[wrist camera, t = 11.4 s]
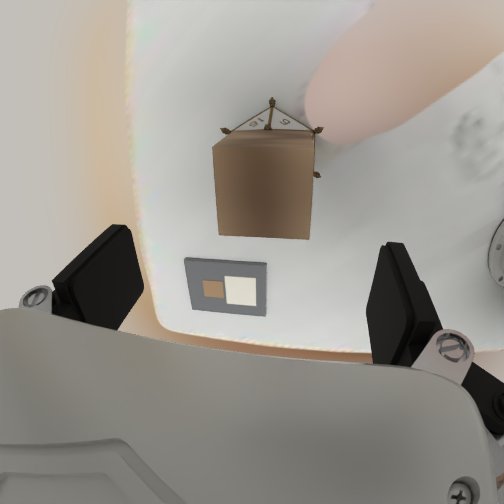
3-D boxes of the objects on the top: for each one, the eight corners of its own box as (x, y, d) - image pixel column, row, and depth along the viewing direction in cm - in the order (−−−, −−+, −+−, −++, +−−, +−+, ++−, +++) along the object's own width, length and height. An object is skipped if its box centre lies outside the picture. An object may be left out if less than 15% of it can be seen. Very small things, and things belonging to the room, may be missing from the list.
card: (266, 263, 36) (265, 266, 36) (265, 313, 40) (265, 317, 40) (185, 257, 38) (183, 260, 37) (193, 306, 42) (192, 309, 41)
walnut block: (310, 131, 20) (314, 148, 15) (307, 202, 23) (309, 239, 18) (233, 130, 21) (212, 147, 16) (236, 199, 24) (218, 235, 19)
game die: (297, 139, 32) (355, 191, 26) (231, 181, 32) (276, 244, 26) (269, 72, 25) (337, 111, 19) (190, 120, 25) (231, 177, 19)
